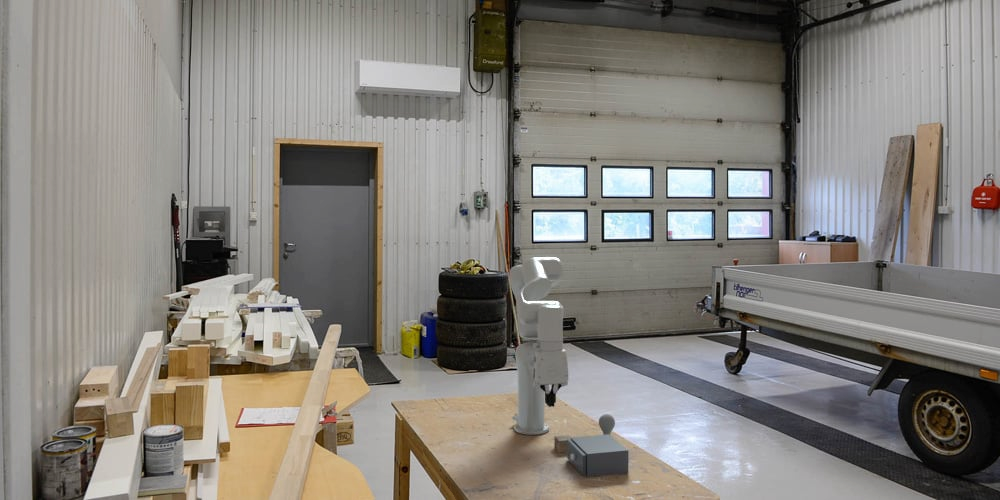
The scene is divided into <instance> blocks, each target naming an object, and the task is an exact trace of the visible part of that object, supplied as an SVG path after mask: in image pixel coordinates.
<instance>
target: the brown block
mask: <svg viewBox="0 0 1000 500" xmlns="http://www.w3.org/2000/svg"><path fill="white" fill-rule="evenodd" d="M553 439H554V441H553V442H554V446H553V447H554V449H555V450H556V451H557V453H559V454H562V453H563V454H564V453H567V439H570V440H571V436H570V435H569V434H564V435H554V438H553Z"/></svg>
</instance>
